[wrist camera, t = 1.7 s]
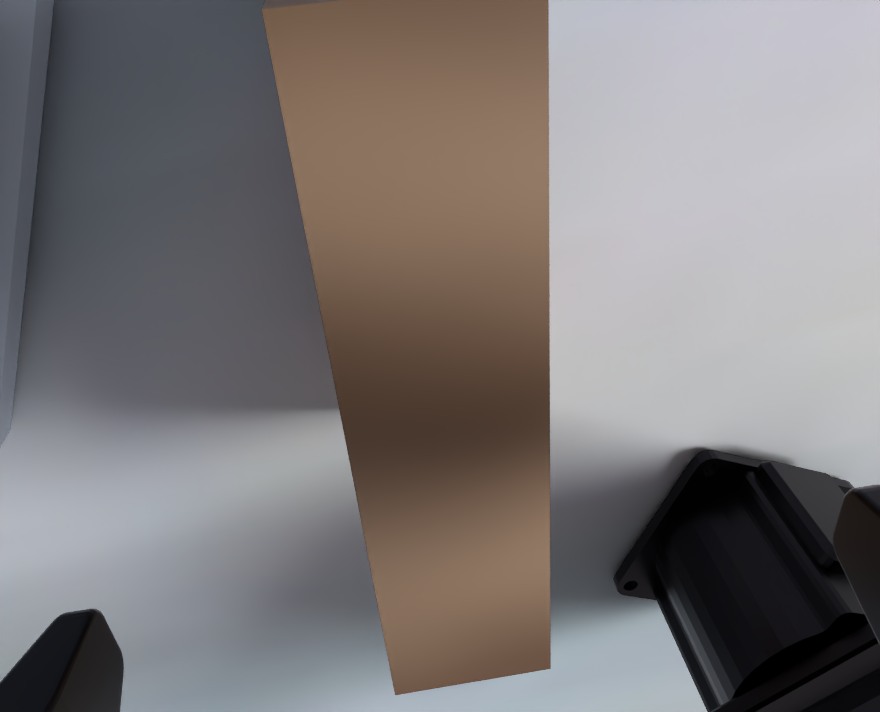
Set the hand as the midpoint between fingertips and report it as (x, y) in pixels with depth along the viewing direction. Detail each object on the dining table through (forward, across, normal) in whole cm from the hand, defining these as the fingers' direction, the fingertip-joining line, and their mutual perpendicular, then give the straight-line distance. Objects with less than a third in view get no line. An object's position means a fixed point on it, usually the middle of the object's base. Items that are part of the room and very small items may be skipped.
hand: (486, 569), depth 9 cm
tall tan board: (+12, 0, 0) cm, 12 cm away
